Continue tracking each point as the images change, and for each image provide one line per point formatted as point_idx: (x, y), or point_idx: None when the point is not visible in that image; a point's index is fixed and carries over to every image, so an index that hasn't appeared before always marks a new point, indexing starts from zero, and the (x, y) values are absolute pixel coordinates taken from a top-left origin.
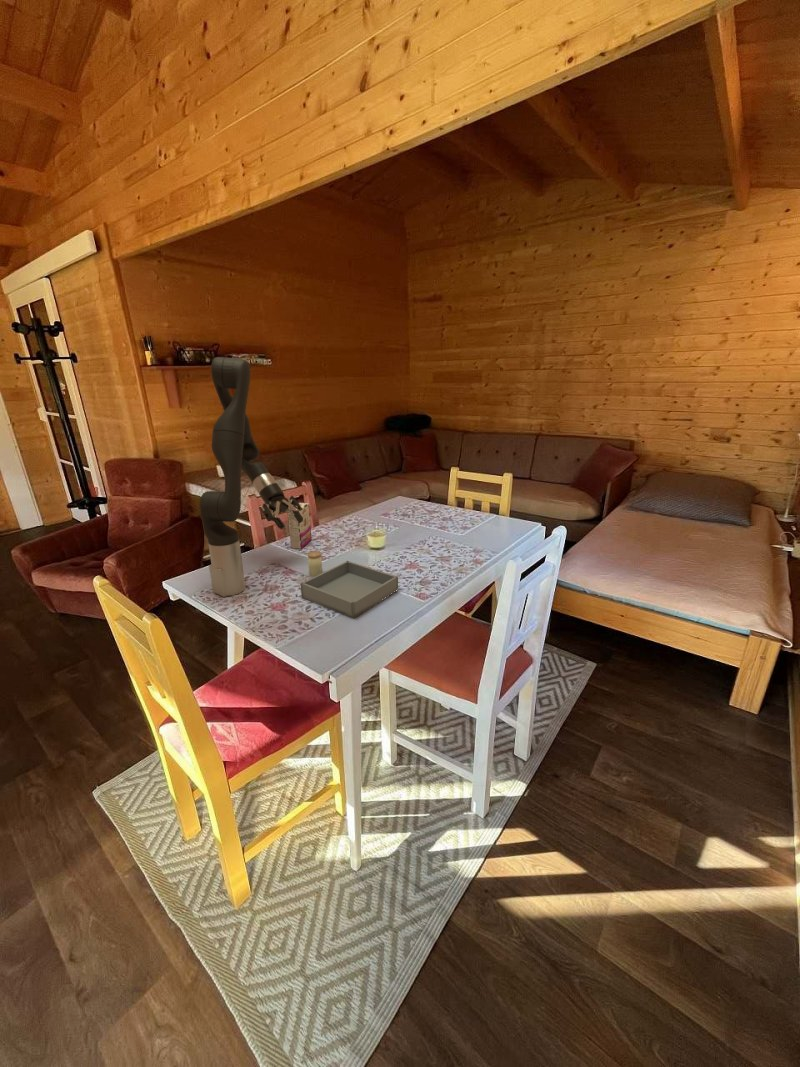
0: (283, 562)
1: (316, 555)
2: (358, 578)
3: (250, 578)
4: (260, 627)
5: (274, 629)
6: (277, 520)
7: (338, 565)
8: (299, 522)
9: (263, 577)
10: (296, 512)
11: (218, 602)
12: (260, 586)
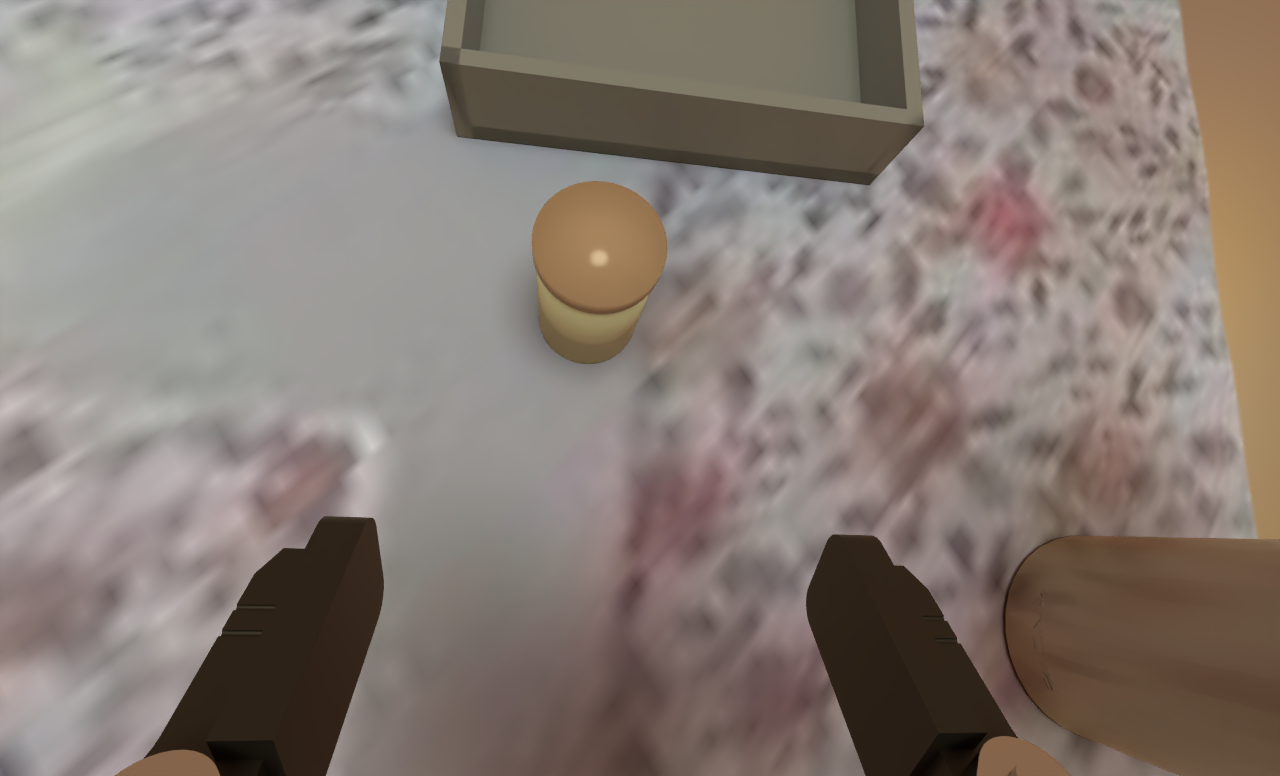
0: (562, 712)
1: (627, 196)
2: (515, 11)
3: None
4: (1159, 163)
5: (1125, 102)
6: (975, 699)
7: (556, 72)
8: (379, 591)
9: None
10: (277, 737)
11: None
12: (939, 502)
